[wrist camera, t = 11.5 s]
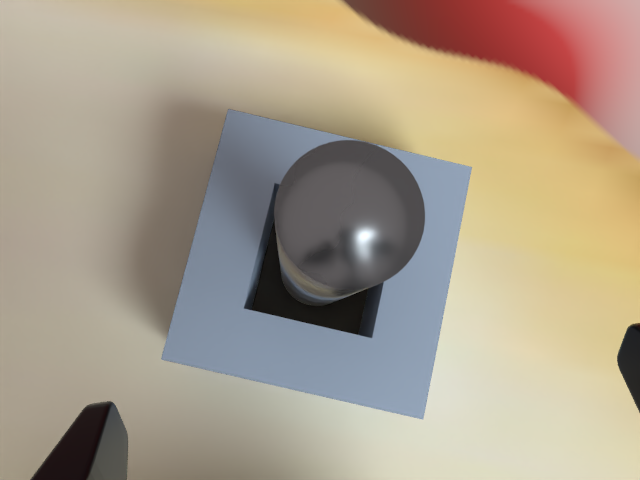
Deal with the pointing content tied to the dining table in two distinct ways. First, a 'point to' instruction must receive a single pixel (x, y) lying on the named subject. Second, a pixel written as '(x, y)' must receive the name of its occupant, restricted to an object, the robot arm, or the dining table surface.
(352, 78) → the dining table surface
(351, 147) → the peg
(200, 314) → the hole block
